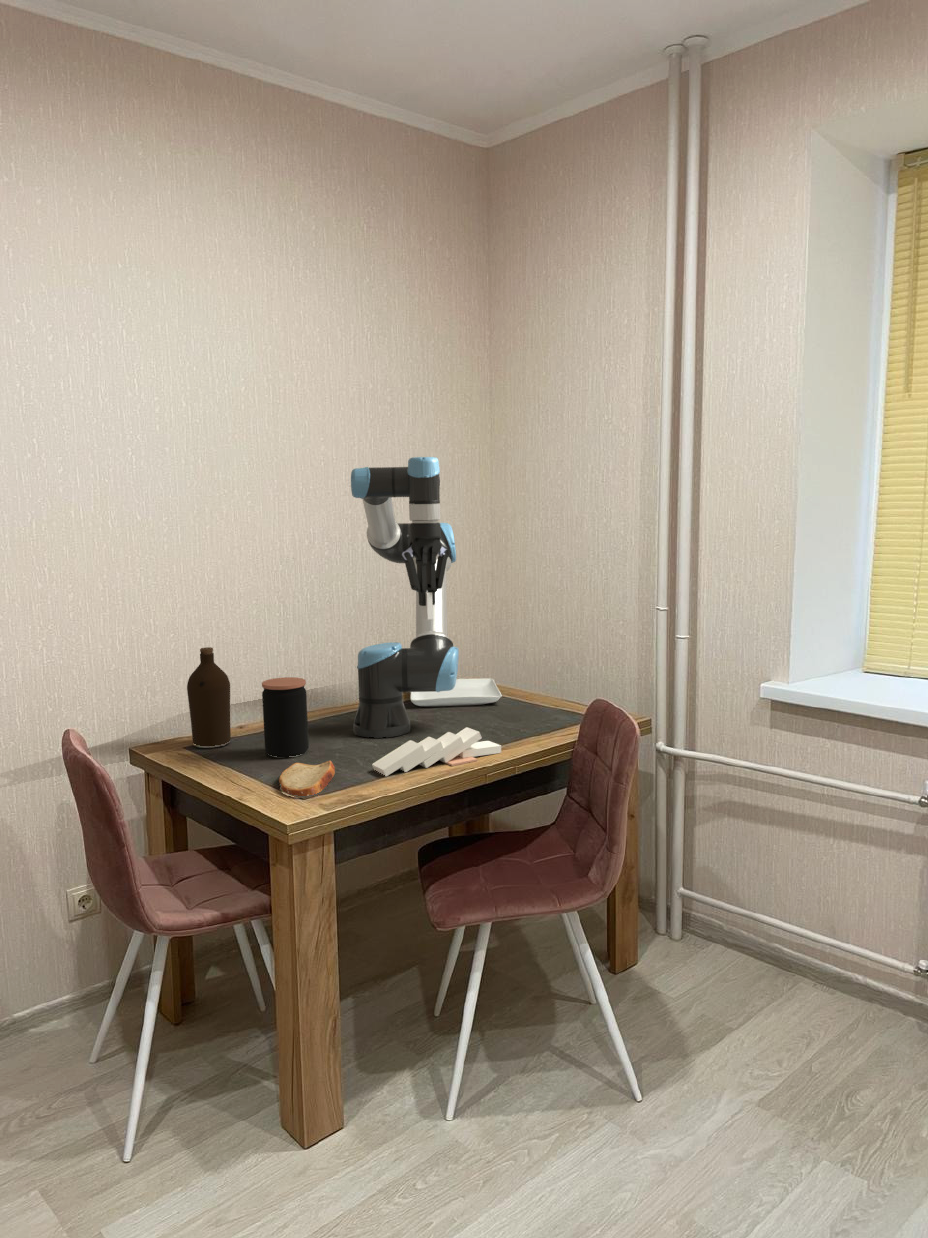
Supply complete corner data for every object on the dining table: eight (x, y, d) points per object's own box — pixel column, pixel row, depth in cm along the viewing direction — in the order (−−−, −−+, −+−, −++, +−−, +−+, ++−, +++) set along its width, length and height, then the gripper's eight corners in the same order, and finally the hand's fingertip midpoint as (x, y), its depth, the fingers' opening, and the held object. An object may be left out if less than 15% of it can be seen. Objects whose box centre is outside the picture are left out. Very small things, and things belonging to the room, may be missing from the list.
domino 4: (443, 756, 219) (479, 731, 224) (431, 751, 224) (466, 727, 229) (446, 763, 220) (481, 738, 225) (433, 757, 225) (469, 733, 229)
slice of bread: (302, 803, 196) (301, 785, 195) (253, 786, 208) (252, 769, 208) (368, 782, 209) (367, 766, 208) (317, 767, 221) (317, 751, 221)
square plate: (493, 688, 304) (492, 676, 303) (502, 707, 277) (502, 694, 276) (409, 691, 302) (408, 679, 301) (410, 711, 275) (410, 698, 274)
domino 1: (383, 770, 211) (422, 745, 216) (371, 764, 216) (410, 740, 221) (386, 776, 212) (425, 751, 216) (374, 770, 216) (412, 746, 221)
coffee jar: (317, 750, 234) (314, 679, 232) (289, 761, 225) (285, 687, 223) (285, 745, 239) (281, 675, 237) (255, 755, 230) (252, 683, 228)
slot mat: (452, 766, 218) (452, 764, 218) (430, 756, 227) (430, 754, 227) (477, 761, 222) (477, 759, 222) (454, 751, 230) (454, 749, 230)
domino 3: (423, 761, 217) (460, 736, 221) (412, 756, 221) (448, 731, 226) (426, 768, 217) (463, 743, 222) (414, 762, 222) (451, 737, 226)
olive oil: (237, 746, 240) (232, 649, 236) (195, 752, 235) (189, 653, 231) (227, 736, 249) (222, 643, 245) (186, 742, 244) (181, 647, 241)
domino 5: (463, 750, 222) (501, 745, 228) (450, 745, 227) (488, 740, 233) (462, 758, 223) (501, 752, 229) (450, 752, 227) (488, 747, 233)
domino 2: (402, 766, 214) (440, 741, 219) (391, 760, 218) (428, 736, 223) (405, 772, 214) (443, 748, 219) (393, 766, 219) (431, 742, 224)
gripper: (439, 520, 234) (442, 614, 237) (393, 522, 227) (396, 619, 230) (456, 521, 227) (458, 617, 231) (409, 523, 220) (411, 622, 224)
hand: (427, 618), depth 230 cm, fingers closed
